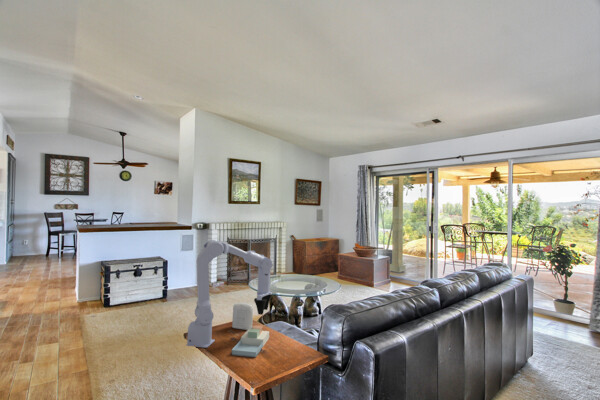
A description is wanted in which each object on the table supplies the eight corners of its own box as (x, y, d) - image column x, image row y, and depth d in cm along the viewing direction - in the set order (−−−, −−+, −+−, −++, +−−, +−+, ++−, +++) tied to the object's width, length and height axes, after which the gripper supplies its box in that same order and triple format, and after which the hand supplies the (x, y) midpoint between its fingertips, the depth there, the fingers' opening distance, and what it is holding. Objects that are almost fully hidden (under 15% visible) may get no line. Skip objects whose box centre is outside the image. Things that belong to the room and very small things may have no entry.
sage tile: (247, 337, 135) (248, 331, 135) (250, 334, 139) (251, 328, 139) (256, 338, 134) (257, 332, 135) (259, 335, 138) (259, 329, 139)
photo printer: (253, 328, 155) (254, 302, 156) (250, 331, 151) (251, 304, 152) (234, 325, 158) (235, 300, 159) (230, 328, 154) (231, 302, 155)
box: (231, 354, 125) (231, 349, 125) (240, 344, 135) (240, 340, 135) (255, 357, 123) (255, 352, 123) (262, 347, 133) (263, 342, 133)
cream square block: (240, 344, 135) (240, 337, 135) (248, 335, 145) (248, 329, 145) (263, 346, 133) (263, 339, 134) (269, 337, 143) (269, 331, 143)
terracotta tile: (251, 333, 140) (251, 328, 140) (253, 330, 144) (254, 325, 144) (259, 334, 139) (260, 328, 139) (262, 331, 143) (262, 325, 143)
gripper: (267, 286, 141) (266, 317, 140) (275, 280, 155) (274, 308, 154) (252, 285, 142) (251, 316, 141) (262, 279, 156) (261, 307, 155)
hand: (262, 311), depth 148 cm, fingers open, 7 cm apart
